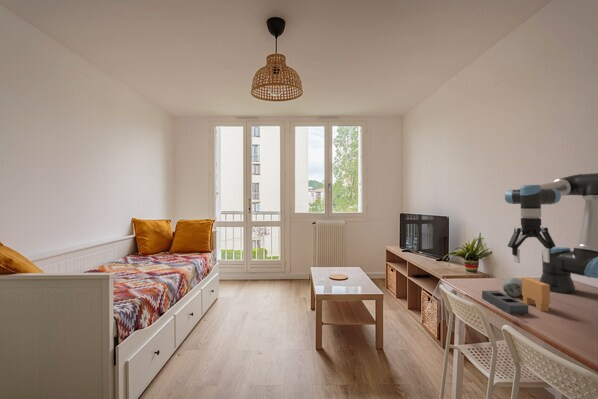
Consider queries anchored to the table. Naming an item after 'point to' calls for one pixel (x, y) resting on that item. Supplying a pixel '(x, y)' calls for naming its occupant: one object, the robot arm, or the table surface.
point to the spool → (513, 287)
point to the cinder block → (505, 302)
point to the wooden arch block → (536, 293)
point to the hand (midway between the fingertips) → (531, 262)
